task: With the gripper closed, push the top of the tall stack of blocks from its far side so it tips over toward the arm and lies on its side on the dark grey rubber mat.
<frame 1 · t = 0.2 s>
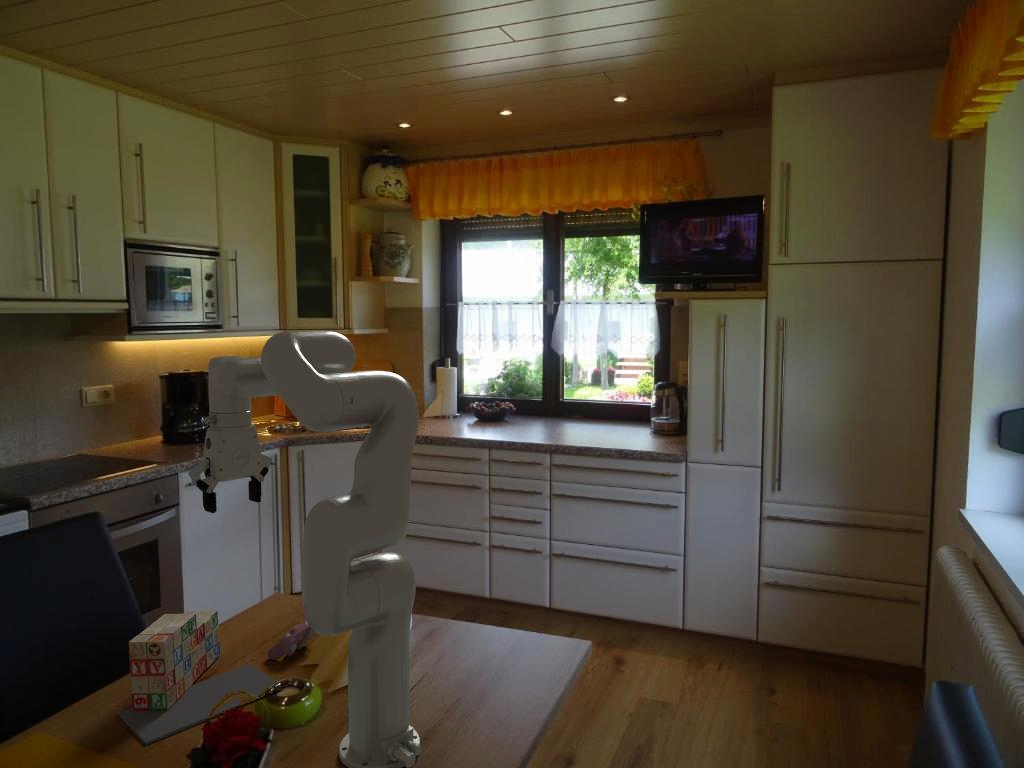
hand: (233, 506, 142), 31 cm above the table, tool pointing down, fingers open, 9 cm apart
stack of blocks: (180, 681, 135), on the table, touching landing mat
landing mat: (203, 701, 129), on the table
purple toy animal: (293, 653, 148), on the table
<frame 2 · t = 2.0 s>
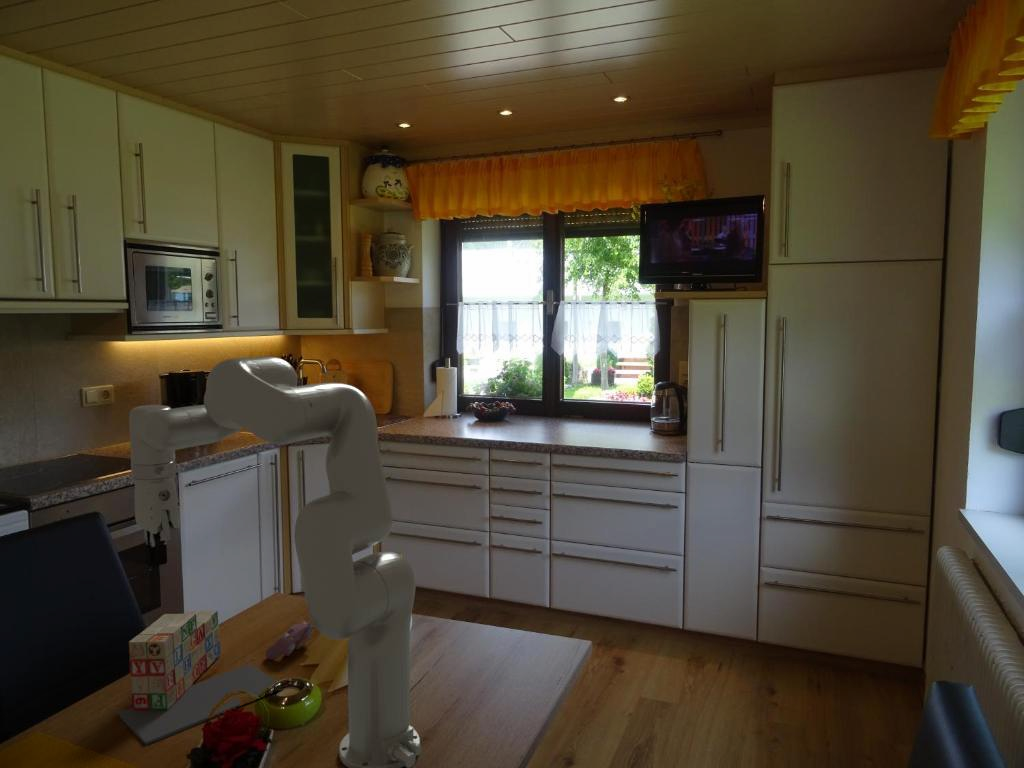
hand: (156, 564, 139), 21 cm above the table, tool pointing down, fingers closed
nothing on the table moved.
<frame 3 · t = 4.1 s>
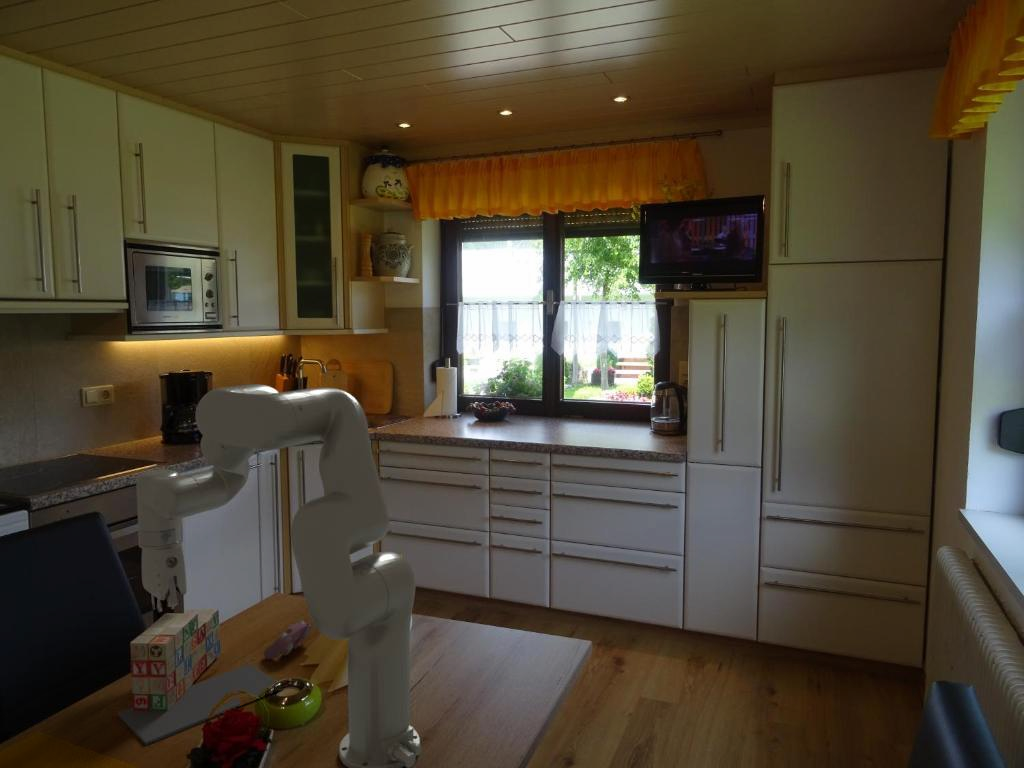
hand: (164, 628, 139), 8 cm above the table, tool pointing down, fingers closed
stack of blocks: (180, 680, 135), on the table, touching gripper, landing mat
everything else where it was.
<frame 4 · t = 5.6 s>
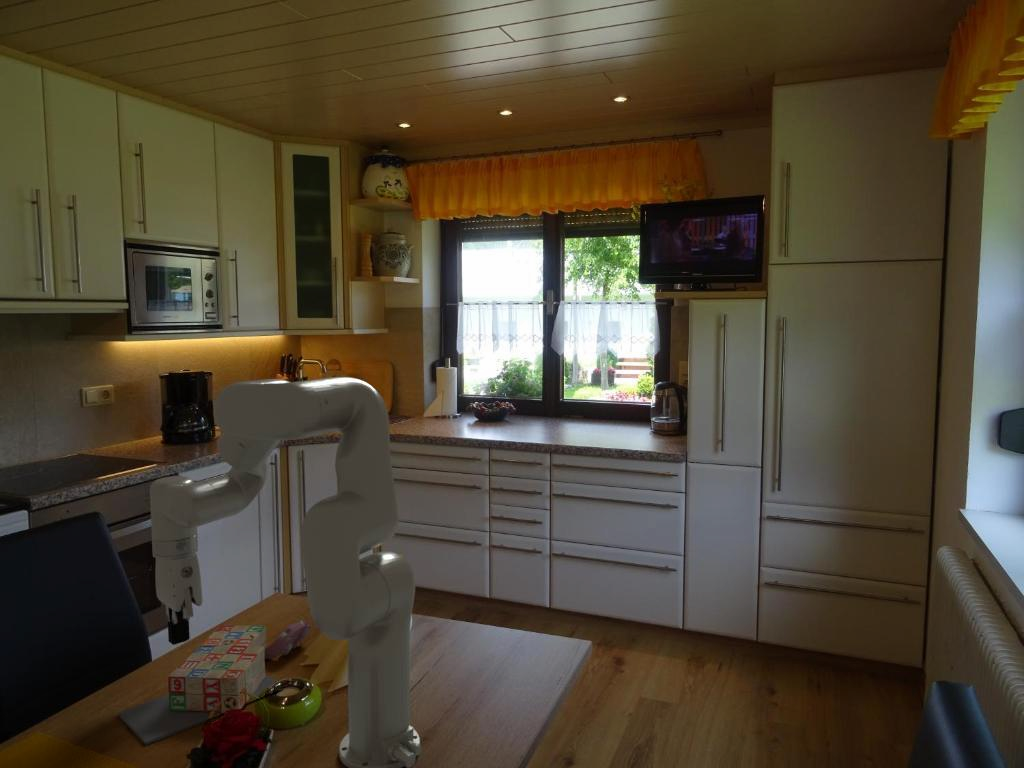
hand: (179, 641, 134), 8 cm above the table, tool pointing down, fingers closed
stack of blocks: (195, 664, 135), point 4 cm above the table, touching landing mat
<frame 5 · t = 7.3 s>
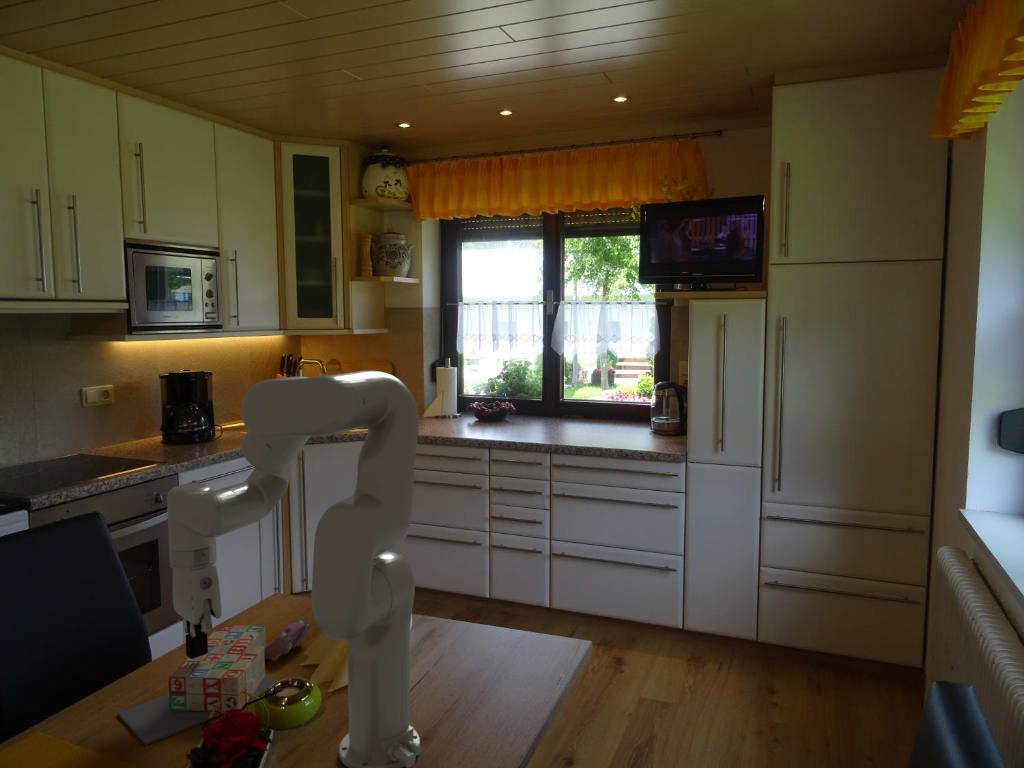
hand: (197, 654, 129), 8 cm above the table, tool pointing down, fingers closed
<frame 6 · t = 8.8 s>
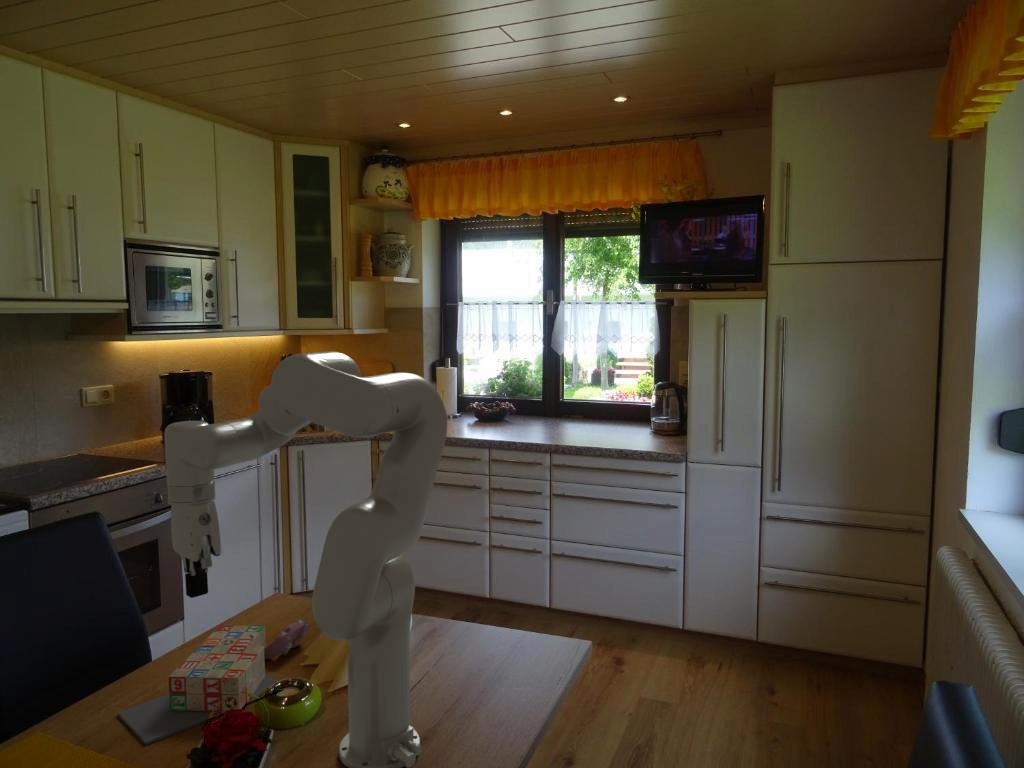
hand: (197, 594, 128), 19 cm above the table, tool pointing down, fingers closed
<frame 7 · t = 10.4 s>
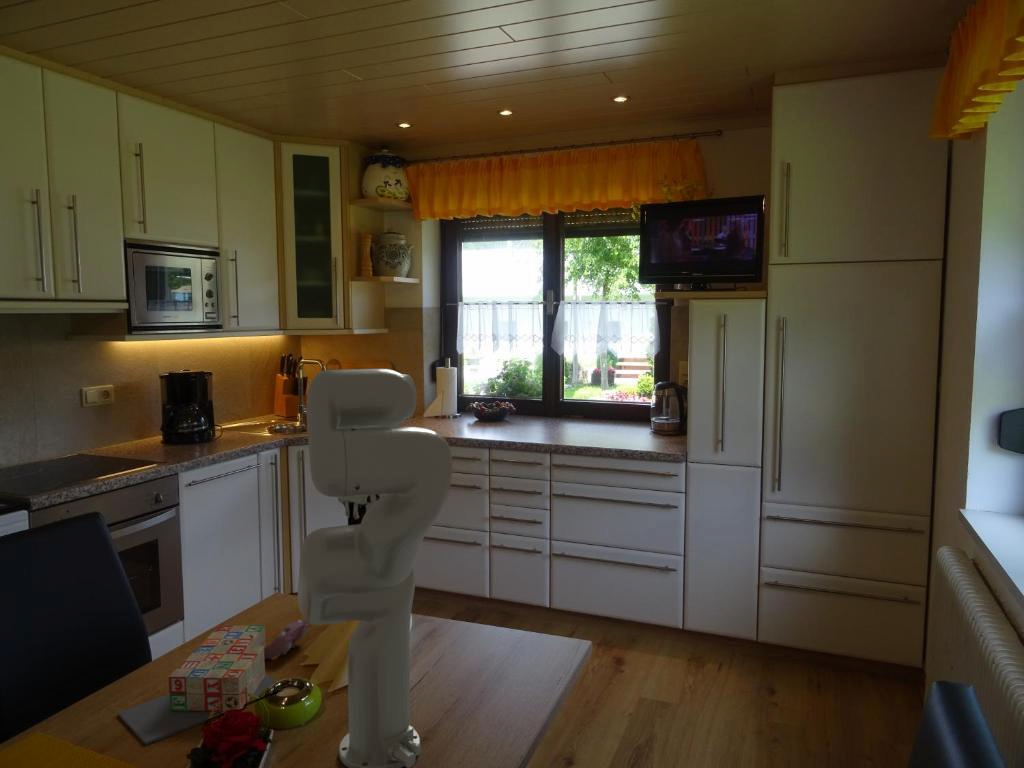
hand: (357, 537, 136), 27 cm above the table, tool pointing down, fingers closed
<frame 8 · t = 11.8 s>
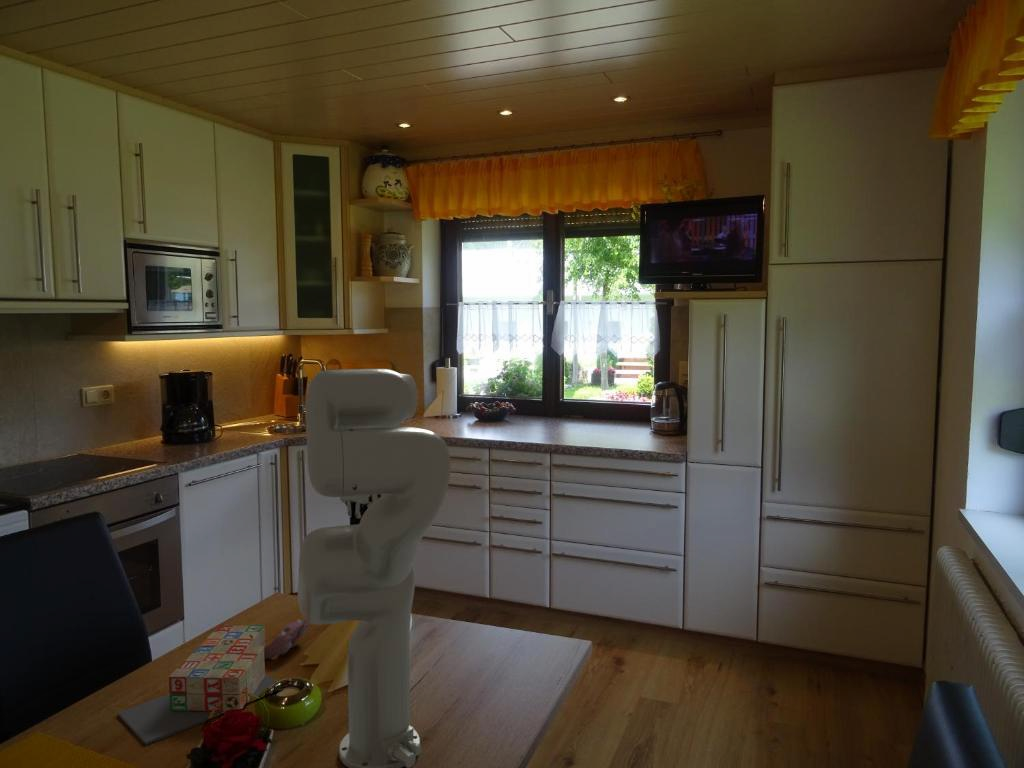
hand: (359, 536, 136), 27 cm above the table, tool pointing down, fingers closed
at the end: stack of blocks tilted 90°; stack of blocks touching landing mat; purple toy animal moved 1.9 cm from its start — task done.
